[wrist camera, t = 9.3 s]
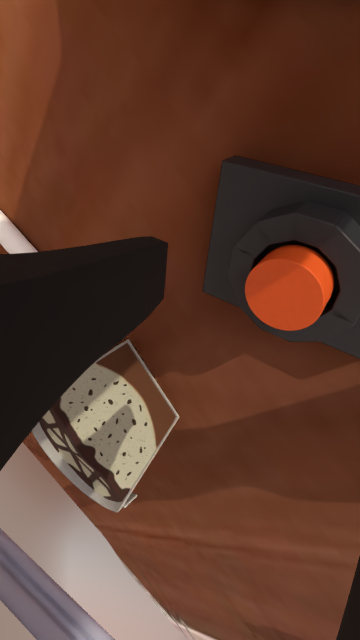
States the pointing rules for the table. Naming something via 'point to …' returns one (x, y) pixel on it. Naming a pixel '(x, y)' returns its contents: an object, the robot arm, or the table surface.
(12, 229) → the white rod
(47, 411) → the robot arm
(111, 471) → the food container
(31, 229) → the table surface
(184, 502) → the table surface
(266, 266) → the desk button
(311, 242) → the button block
